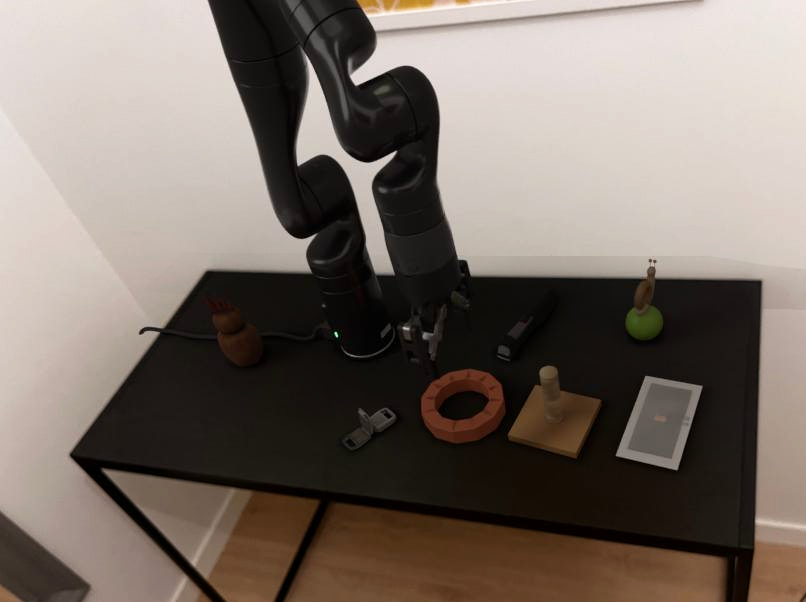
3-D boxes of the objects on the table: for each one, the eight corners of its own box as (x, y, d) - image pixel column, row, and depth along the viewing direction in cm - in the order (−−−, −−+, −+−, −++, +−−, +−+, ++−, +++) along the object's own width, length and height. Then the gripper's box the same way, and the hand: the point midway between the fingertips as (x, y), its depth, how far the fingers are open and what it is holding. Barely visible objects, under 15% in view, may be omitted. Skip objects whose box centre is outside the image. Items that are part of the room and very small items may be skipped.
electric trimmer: (564, 304, 118) (562, 289, 116) (513, 362, 110) (510, 347, 108) (545, 298, 120) (543, 283, 118) (493, 355, 112) (490, 340, 110)
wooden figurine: (225, 368, 123) (186, 302, 113) (243, 345, 126) (207, 279, 116) (256, 373, 120) (220, 306, 110) (274, 350, 124) (240, 283, 114)
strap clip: (387, 409, 108) (380, 390, 105) (398, 419, 106) (391, 400, 103) (341, 442, 105) (332, 423, 102) (352, 452, 103) (343, 434, 100)
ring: (410, 430, 104) (406, 419, 102) (448, 374, 111) (444, 362, 109) (483, 451, 99) (480, 439, 97) (518, 391, 106) (515, 379, 104)
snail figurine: (670, 324, 110) (671, 261, 101) (655, 351, 106) (655, 288, 98) (636, 316, 112) (635, 255, 104) (620, 342, 109) (618, 281, 101)
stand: (508, 440, 99) (498, 390, 92) (536, 390, 105) (528, 339, 98) (576, 458, 95) (571, 408, 88) (601, 405, 101) (598, 353, 94)
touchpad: (615, 460, 93) (615, 450, 92) (645, 381, 102) (645, 370, 101) (677, 475, 90) (677, 465, 88) (702, 391, 99) (703, 380, 97)
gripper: (423, 213, 86) (448, 314, 97) (362, 285, 78) (398, 386, 89) (478, 219, 83) (498, 323, 94) (421, 295, 75) (450, 399, 86)
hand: (449, 353), depth 91 cm, fingers open, 8 cm apart
